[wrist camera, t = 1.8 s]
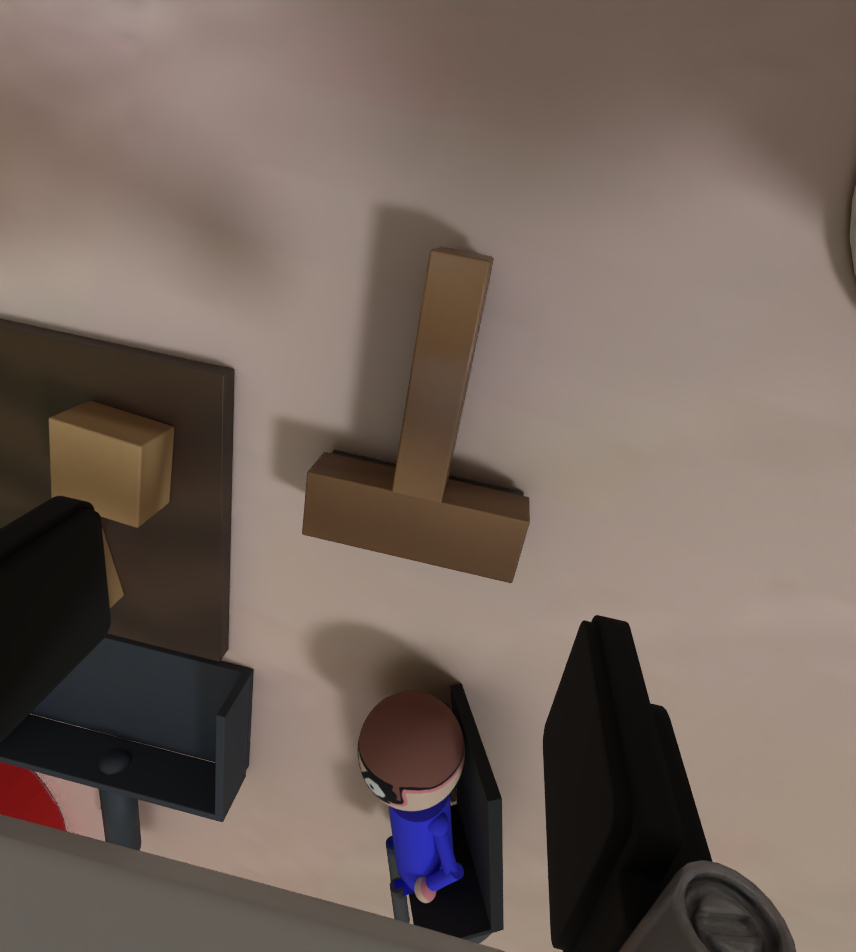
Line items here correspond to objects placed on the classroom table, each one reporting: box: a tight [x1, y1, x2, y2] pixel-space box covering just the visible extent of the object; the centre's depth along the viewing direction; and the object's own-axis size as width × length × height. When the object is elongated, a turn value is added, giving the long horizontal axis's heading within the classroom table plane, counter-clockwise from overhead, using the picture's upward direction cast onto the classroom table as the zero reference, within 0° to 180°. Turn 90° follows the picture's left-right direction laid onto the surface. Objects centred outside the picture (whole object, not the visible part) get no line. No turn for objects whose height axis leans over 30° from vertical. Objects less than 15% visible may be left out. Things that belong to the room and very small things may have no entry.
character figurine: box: [358, 684, 503, 944], centre depth 29 cm, size 8×7×15 cm
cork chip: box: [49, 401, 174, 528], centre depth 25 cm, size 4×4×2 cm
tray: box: [0, 319, 234, 662], centre depth 28 cm, size 16×12×1 cm
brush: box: [302, 247, 530, 583], centre depth 22 cm, size 12×9×3 cm
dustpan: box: [0, 634, 253, 851], centre depth 35 cm, size 18×15×3 cm
